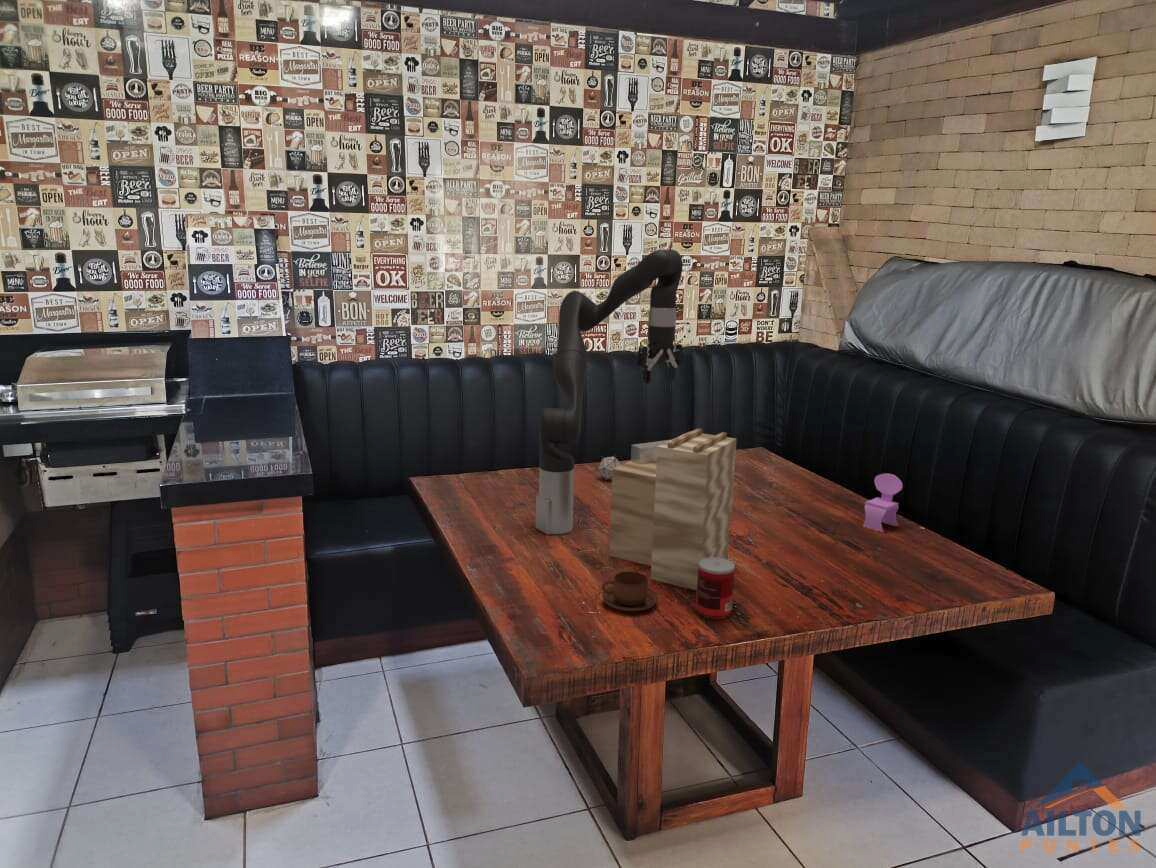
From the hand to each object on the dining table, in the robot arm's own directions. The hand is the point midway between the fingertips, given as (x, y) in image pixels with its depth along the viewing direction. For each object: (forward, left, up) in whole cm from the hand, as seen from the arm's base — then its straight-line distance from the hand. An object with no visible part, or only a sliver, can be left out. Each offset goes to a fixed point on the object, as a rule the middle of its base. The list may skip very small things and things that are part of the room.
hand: (659, 382), depth 236 cm
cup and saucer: (-43, -45, -38) cm, 73 cm away
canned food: (-30, -58, -38) cm, 76 cm away
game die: (+8, +32, -38) cm, 51 cm away
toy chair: (+48, -42, -38) cm, 74 cm away
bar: (-10, -19, -16) cm, 27 cm away
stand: (-18, -30, -38) cm, 52 cm away
